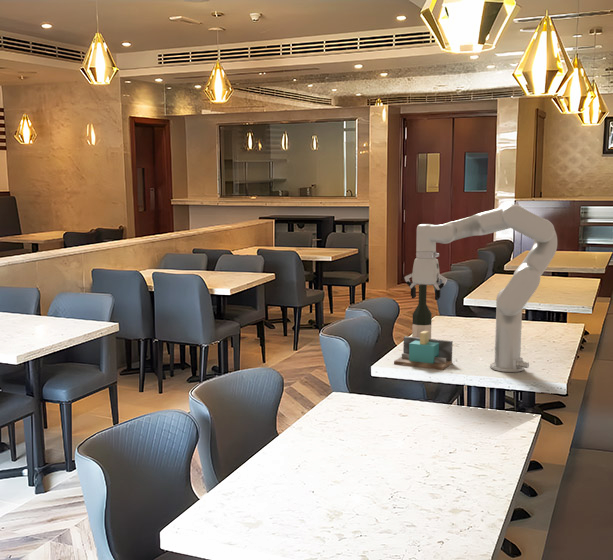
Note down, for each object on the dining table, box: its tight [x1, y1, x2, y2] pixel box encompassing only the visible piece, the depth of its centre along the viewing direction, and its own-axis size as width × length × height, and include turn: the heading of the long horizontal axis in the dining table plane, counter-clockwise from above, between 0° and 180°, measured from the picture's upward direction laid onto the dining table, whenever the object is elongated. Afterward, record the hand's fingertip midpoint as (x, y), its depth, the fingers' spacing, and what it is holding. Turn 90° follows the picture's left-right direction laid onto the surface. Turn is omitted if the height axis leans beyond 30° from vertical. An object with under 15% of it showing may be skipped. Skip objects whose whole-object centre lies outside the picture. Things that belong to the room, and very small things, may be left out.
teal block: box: [409, 331, 439, 364], centre depth 281 cm, size 10×7×12 cm
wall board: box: [393, 336, 454, 371], centre depth 281 cm, size 20×12×9 cm, turn 62°
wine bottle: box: [411, 284, 433, 339], centre depth 299 cm, size 8×8×30 cm
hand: (425, 298), depth 279 cm, fingers open, 9 cm apart
